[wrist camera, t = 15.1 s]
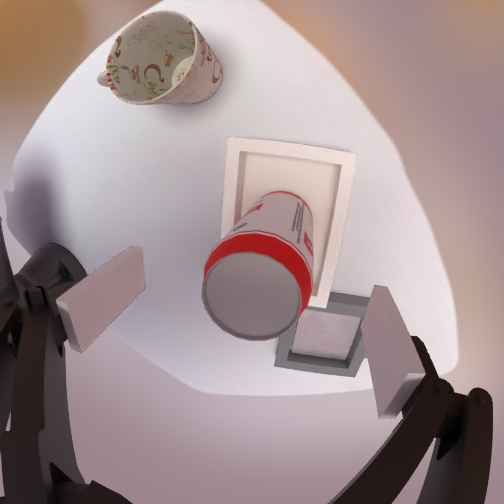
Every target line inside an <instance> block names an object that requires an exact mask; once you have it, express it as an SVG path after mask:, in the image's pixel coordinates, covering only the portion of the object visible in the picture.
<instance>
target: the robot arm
mask: <svg viewBox="0 0 504 504" xmlns="http://www.w3.org/2000/svg"><path fill="white" fill-rule="evenodd" d="M1 221H2V218H1V217H0V453H1V461H2V476H3V486H4V494H5V496H4V497H0V504H132V503H131V502H130V501H128V500H127V499H126V498H124V497H123V496H122V495H120V494H118V493H116V492H114V491H112V490H110V489H108V488H106V487H104V486H103V485H101V484H99V483H97V482H95V481H93V480H92V481H91V483H90V484H85V481H84V479H83V477H82V475H81V473H80V471H79V469H78V467H77V463H76V458H75V453H74V448H73V442H72V435H71V429H70V421H69V412H68V403H67V390H66V367H65V346H64V342H65V341H66V340H67V339H68V341H69V344H70V347H71V348H72V349H74V350H76V351H78V352H80V353H83V352H84V351H85V350H86V349H87V348H88V347H89V345H91V344H92V343H93V341H94V340H95V339H96V338H97V337H98V336H99V335H100V334H101V333H102V332H103V331H104V330H105V329H106V328H107V327H108V326H109V325H110V324H111V323H112V322H113V321H114V320H115V319H116V318H117V316H118V315H119V314H120V313H121V312H122V311H123V310H124V309H125V308H126V307H127V306H128V305H129V304H130V303H131V302H132V301H133V300H134V299H135V298H136V297H137V296H138V295H139V294H140V293H141V292H142V291H143V290H144V289H145V279H144V267H143V252H142V247H137V246H130V247H129V248H127V249H126V250H124V251H123V252H121V253H120V254H118V255H117V256H115V257H114V258H113V259H111V260H110V261H108V262H107V263H105V264H104V265H102V266H101V267H100V268H98V269H97V270H95V271H94V272H92V273H91V274H90V275H88V276H87V275H86V273H85V272H84V270H83V268H82V267H81V265H80V264H79V262H78V261H77V260H76V258H75V257H74V256H73V255H72V254H71V253H70V252H69V251H68V250H66V249H65V248H64V247H62V246H60V245H57V244H48V245H46V246H44V247H42V248H40V249H38V250H37V251H36V252H35V253H34V254H33V256H32V257H31V258H30V259H29V260H28V261H27V263H26V264H25V265H24V266H23V268H22V269H21V270H20V271H19V273H17V274H16V275H14V276H13V272H12V269H11V265H10V262H9V258H8V254H7V250H6V246H5V241H4V237H3V232H2V226H1ZM360 327H361V331H362V335H363V340H364V344H365V348H366V353H367V358H368V362H369V367H370V372H371V377H372V382H373V388H374V393H375V399H376V404H377V411H378V417H379V419H395V418H396V417H397V415H398V414H399V413H400V411H402V415H403V419H402V420H401V421H400V422H399V424H398V425H397V426H396V428H395V429H394V430H393V431H392V433H391V435H390V436H389V437H388V439H387V440H386V441H385V442H384V444H383V445H382V446H381V448H380V449H379V450H378V451H377V452H376V453H375V455H374V456H373V457H372V458H371V460H370V461H369V462H368V463H367V464H366V465H365V466H364V468H363V469H362V470H361V471H360V472H359V473H358V474H357V475H356V476H355V477H354V478H353V479H352V480H351V482H349V483H348V484H347V485H346V486H345V487H344V489H342V490H341V491H340V492H339V493H338V494H337V495H336V496H335V497H334V498H333V499H332V500H331V501H330V502H329V503H328V504H392V502H393V501H394V500H395V498H396V497H397V496H398V494H399V493H400V492H401V490H402V489H403V487H404V486H405V485H406V483H407V482H408V480H409V479H410V477H411V476H412V474H413V473H414V471H415V470H416V468H417V467H418V465H419V463H420V461H421V460H422V458H423V457H424V455H425V453H426V452H427V450H428V448H429V446H430V445H431V443H432V441H433V439H434V437H435V438H436V442H435V446H434V450H433V454H432V458H431V461H430V465H429V469H428V472H427V475H426V478H425V481H424V484H423V487H422V490H421V493H420V496H419V498H418V501H417V504H484V502H485V497H486V492H487V486H488V480H489V472H490V463H491V453H492V437H493V402H492V398H491V396H490V394H489V393H488V392H487V391H486V390H484V389H482V388H473V389H472V390H471V391H470V392H469V394H468V395H463V394H459V393H455V392H454V389H453V387H452V386H451V384H450V383H448V382H447V381H446V380H444V379H441V378H439V376H438V374H437V372H436V369H435V367H434V365H433V362H432V360H431V358H430V355H429V353H428V352H427V349H426V347H425V345H424V343H423V342H422V341H421V340H420V339H419V338H418V337H417V336H410V334H409V332H408V330H407V328H406V325H405V323H404V321H403V319H402V317H401V314H400V312H399V310H398V308H397V306H396V304H395V302H394V300H393V298H392V296H391V294H390V292H389V290H388V288H387V287H386V286H379V285H374V287H373V291H372V294H371V297H370V300H369V303H368V306H367V309H366V312H365V315H364V318H363V321H362V323H361V326H360ZM10 411H11V427H10V430H9V431H5V430H6V426H7V422H8V419H9V415H10Z"/></svg>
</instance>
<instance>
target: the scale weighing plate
mask: <svg viewBox="0 0 504 504" xmlns="http://www.w3.org/2000/svg"><path fill="white" fill-rule="evenodd" d="M360 320H361V317H354V316H347V315H340V314H333V313H326V312H320V311H313V310H307V309H305V310H304V311H303V313H302V314H301V315H300V317H299V320H298V324H297V329H296V333H295V337H294V341H293V346H292V351H291V352H293V353H299V354H305V355H312V356H319V357H326V358H334V359H342V360H346V358H347V355H348V353H349V350H350V347H351V345H352V342H353V340H354V337H355V334H356V332H357V329H358V326H359V323H360Z"/></svg>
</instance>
